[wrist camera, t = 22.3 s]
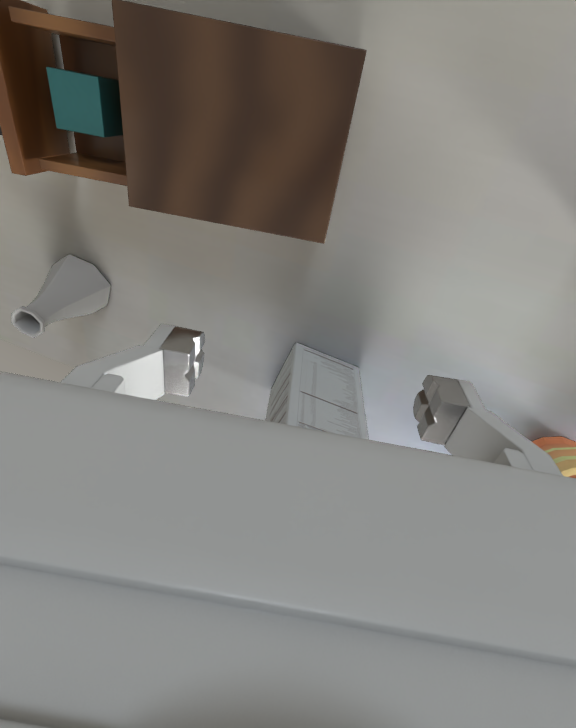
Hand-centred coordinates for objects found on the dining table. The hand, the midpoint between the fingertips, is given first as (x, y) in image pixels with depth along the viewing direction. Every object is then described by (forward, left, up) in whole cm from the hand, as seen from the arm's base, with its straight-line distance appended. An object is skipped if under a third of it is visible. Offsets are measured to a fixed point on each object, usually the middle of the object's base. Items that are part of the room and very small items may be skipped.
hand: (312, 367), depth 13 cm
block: (+11, -18, -27) cm, 34 cm away
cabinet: (+2, -9, -29) cm, 30 cm away
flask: (+29, -9, -29) cm, 42 cm away
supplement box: (+13, +18, -29) cm, 37 cm away
